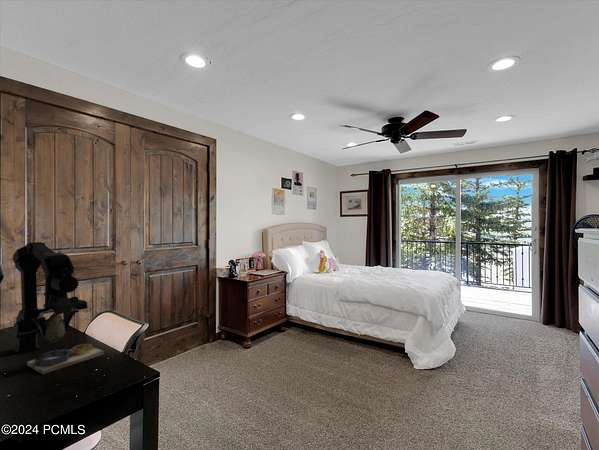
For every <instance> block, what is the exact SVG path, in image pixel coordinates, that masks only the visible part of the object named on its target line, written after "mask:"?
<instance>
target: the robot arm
mask: <svg viewBox="0 0 599 450" xmlns="http://www.w3.org/2000/svg"><path fill="white" fill-rule="evenodd" d="M12 261H13V263H14V267H15V268H16V270H17V271H18V272H19V273H20V290H21V291H20V292H21V293H20V294H21V299H20V300H21V309H20V310H18V313H17V316H16V319H15V320H16V321H15V322H14V325H13V326H12V329H11V336H12V337H13V338H15V339H17V348H14V349H13V351H15V352H16V353H18V354H24V353H28V352H31V351H35V350H38V349H41V346H40V345H38V334H39V333H40V334H41V335H42V336H43V337H44V336H45V325H46V319H47V317H45V316H44V314H50V313H54V314H59V315H61V314H63V315H62V317H63V318H62V319H63V321H64V324H65V332H67V330H68V328H69V325H70V324H71V323H70V322H71V321H72V319H73V318H74V316H75V315H76V313H79V312H80V311H81V310H86V309H88V302H87V301H86V300H83V299H79V297H78V296H72V297H69V296H68V293H72V292H74V291H76V289H77V288H78V286H79V281H78V278H77V277H75V276H73V274H74V273H75V271H74V270H75V267H74V265H73V262H72V260H71V259H70V257H69V256H68V254H66V253H62V252H55V251H54V250H53V249H51V248H50V247H48V246H47V245H46V243H45V242H41V241H37V242H31V241H30V242H29V243H28V242H27V243H26V244H25V246H22V247H20V248H18V249H16V250H15V252H14V253H13V256H12ZM40 267H41V269H42V270H43V272H44V278H45V279H44V283H45V284H44V292H43V297H44V304H43V308H39V307H38V287H37V286H38V285H37V271H38V270H39V268H40Z"/></svg>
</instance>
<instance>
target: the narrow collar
mask: <svg viewBox="0 0 599 450" xmlns="http://www.w3.org/2000/svg"><path fill="white" fill-rule="evenodd" d="M93 347H94V344H92V343H89V342H88V343H80V344H77V345H75V346H73V347H72V348H71V349H72V354H74V355H82V354H86V353H89V352H91V351H92V350H93Z"/></svg>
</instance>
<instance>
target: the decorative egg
mask: <svg viewBox="0 0 599 450" xmlns="http://www.w3.org/2000/svg"><path fill="white" fill-rule="evenodd" d="M62 317H63V316H61V314H55V313H52V314H51V315H50V316H49V317H48V319H47V321H45V336H43V337H44V338H45V340H46V341H47V342H49V343H55V342H58V341H60V340H61V339H63V337H64V335H65V333H66V331H65V324H64V321H63V318H62Z"/></svg>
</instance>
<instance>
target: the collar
mask: <svg viewBox="0 0 599 450" xmlns="http://www.w3.org/2000/svg"><path fill="white" fill-rule="evenodd" d="M54 356H61V357H58V358H55V359H47V358H51V357H54ZM71 357H72V351H70V349H68V348H66V349H64V348H63V349H55V350H51V351H48V352H44V353H41V354H40V355H38V356H36V357H35V358H34V360H35V364H36V365H37V366H39V367H42V366H53V365H56V364H60V363H63V362H66V361H68V360H69V359H70V358H71ZM44 359H46V360H44Z"/></svg>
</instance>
